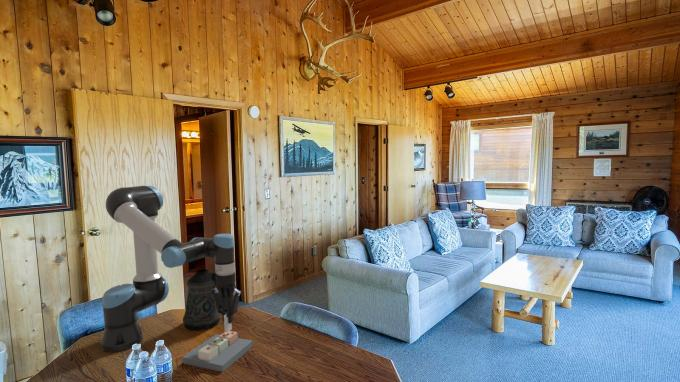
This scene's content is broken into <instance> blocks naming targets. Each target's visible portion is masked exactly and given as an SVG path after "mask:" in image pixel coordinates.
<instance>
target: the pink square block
mask: <svg viewBox="0 0 680 382" xmlns="http://www.w3.org/2000/svg"><path fill="white" fill-rule="evenodd" d="M219 335H220V336H219V338H224V339H228V345H229V346H230V345H232V344H233V343H234V342H236V341H237V340H238V338H239V337H238V332H237V331H232V330H230V331H229V332H225V331H224V332H223V333H221V334H219Z"/></svg>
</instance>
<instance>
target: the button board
mask: <svg viewBox="0 0 680 382" xmlns="http://www.w3.org/2000/svg"><path fill="white" fill-rule="evenodd" d="M220 335H221V334H217V333H215V334H214V335H212V336H211V337H210V338H208V339H207V340H205V341H204V342H203V343H201V344H199V345H198V346H196V347H195V348H193V349H192V350H191V351H190V352H188V353H186V354H185V355H183V356H182V358H181V359H182V364H183V363H184V365H189V366H193V367H198V368H202V369H207V370H211V371H216V372H220V373H224V371H226V370H227V369H228V368H230V367H231V366H232V365H233V364H234V363H235V362H237V361H238V360H239V359H240V358H242V356H244V355H245V354H246V353H247V352H248V351H249V350H250V349H252V348H253V347H254V341H253V340H252V339H251V340H250V339H245V338H240V337H238V340H237V341H236V342H234V343H233V344H232V345H230V346H229V345H228V348H227V349H225V350H224V351H223V352H221V353H218V356H216V357H215V358H214V359H212V360H211V361H210V362H209V361H204V360H199V359H198V351H199V350H200V349H201V348H203V347H204V346H206V345H209V343H210V342H211V341H213V340H214V339H216V338H217V337H219V336H220Z"/></svg>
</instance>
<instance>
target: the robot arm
mask: <svg viewBox="0 0 680 382" xmlns="http://www.w3.org/2000/svg"><path fill="white" fill-rule="evenodd" d="M163 206H164V197H163V194H162V193H161V191H160V190H159V189H158V188H157V187H155V186H153V185H139V186H136V185H135V186H129V187H126V186H125V187H124V186H123V187H118V188H115V189H114V190H112V191H111V192H110V193H109V194H108V195H107V197H106V200H105V209H106V212H107V214H108V215H109V216H110V217H111V219H113V220H114V221H115V222H117V223H119V224H123V225H124V226H126V227H127V228H128V229H129V230H130V231H132V232H133V233H132V234H133V245H134V246H133V247H134V248H133V249H134V259H135V272H136V273H135V274H136V275H134V277H133V278H132V283H123V284H118V285H116V286H113V287H111V288H109V289H107V290H106V291H105V292H104V293H103V295H102V311H103V313H102V314H103V323H104V324H103V325H104V331H103V333H102V334H103V335H102V338H101V341H100V349H101V348H102V349H103V350H105V351H104V352H106V351H116V352H121V351H120V350H122V351H125V350H124V349H126V350H128V349H127V348H129V349H131V348H132V347H131V346H132V345H133V344H135V343H139V344H141V342H142V341H143V340H144V334H143V333H144V332H143V331H142V328H141V327H140V325H139V323H138V317H137V316H138V314H137V313H139V312H141V311H144V310H146V309H149V308H151V307H154V306H157V305H158V304H160V303H162V302H163V301H165V300H166V299H167V298H168V294H169V290H170V287H169V286H170V285H169V282H167V279H166V278H165V277H163V275H162V273H161V272H159V270H158V269H159V267H158V266H159V265H158V254H157V252H158V253H160V258H161V259H160V260H161V262H162V263H163V265H164V267H166V268H170V269H172V268H173V269H174V268H176V267H180V266H181V267H182V266H183V265H185V264H188V263H191V262H194V261H197V260H200V259H203V258H212V259H213V258H214V269H215V270H214V271H215V273H216V284H217V285H215V286H216V287H214V289H213V290H211V291H212V293H213V295H214V299H215V303H216V307H217V311H218V313H220V314H221V316H222V323H224V332H229V331H232V329H233V325H232V324H233V322H234V318H233V317H234V316H233V315H235V314H237V312H238V307H239V302H240V296H241V295H242V290H239V289H237V286H236V280H237V278H236V261H235V243H234V242H235V241H234V236H233V234H231V233H217V234H215V235H214V236H213V238H211V237H210V238H209V237H202V236H201V237H193V238H192V239H190V240H189V241H188V242H185V243H183V242H181V241H180V240H178V239H177V237H175V236H174V235H172V234H171V233H170V232H168V231H167V230H166V229H165V228H163V227H162V226H160V225H159V224H158V223H156V219H157V217H158V216H159V210H161V209H162V207H163ZM142 339H143V340H142ZM102 349H101V350H102ZM103 350H102V351H103Z"/></svg>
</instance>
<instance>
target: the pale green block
mask: <svg viewBox="0 0 680 382" xmlns="http://www.w3.org/2000/svg"><path fill="white" fill-rule="evenodd" d="M209 345H212V346H218V353H221V352H223V351H224V350H225V349H227V348H228V339H224V338H219V337H217V338H216V339H214V340H213V341H211V342H210V343H209Z"/></svg>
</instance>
